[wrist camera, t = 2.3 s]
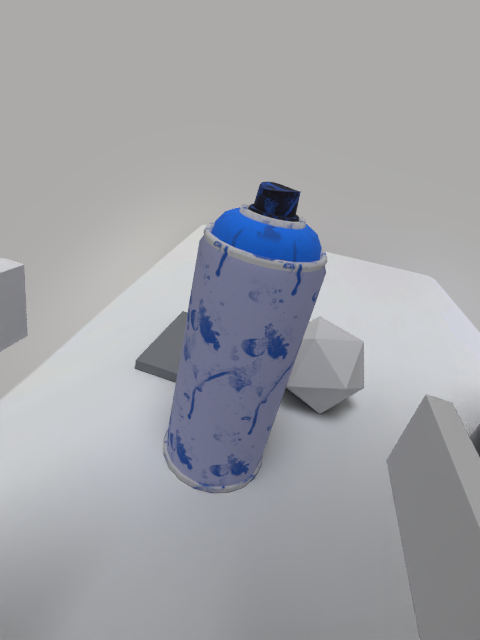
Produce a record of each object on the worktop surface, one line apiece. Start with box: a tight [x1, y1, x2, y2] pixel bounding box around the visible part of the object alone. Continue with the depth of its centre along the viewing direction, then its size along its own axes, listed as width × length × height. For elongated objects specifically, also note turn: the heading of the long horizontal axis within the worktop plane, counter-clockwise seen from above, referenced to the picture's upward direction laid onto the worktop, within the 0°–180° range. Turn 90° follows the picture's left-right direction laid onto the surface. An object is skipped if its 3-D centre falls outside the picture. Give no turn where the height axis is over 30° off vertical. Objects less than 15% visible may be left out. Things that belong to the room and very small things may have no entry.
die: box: [286, 317, 364, 414], centre depth 35 cm, size 8×9×10 cm
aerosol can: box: [164, 182, 327, 493], centre depth 24 cm, size 8×8×20 cm
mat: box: [135, 311, 188, 382], centre depth 39 cm, size 12×12×1 cm
